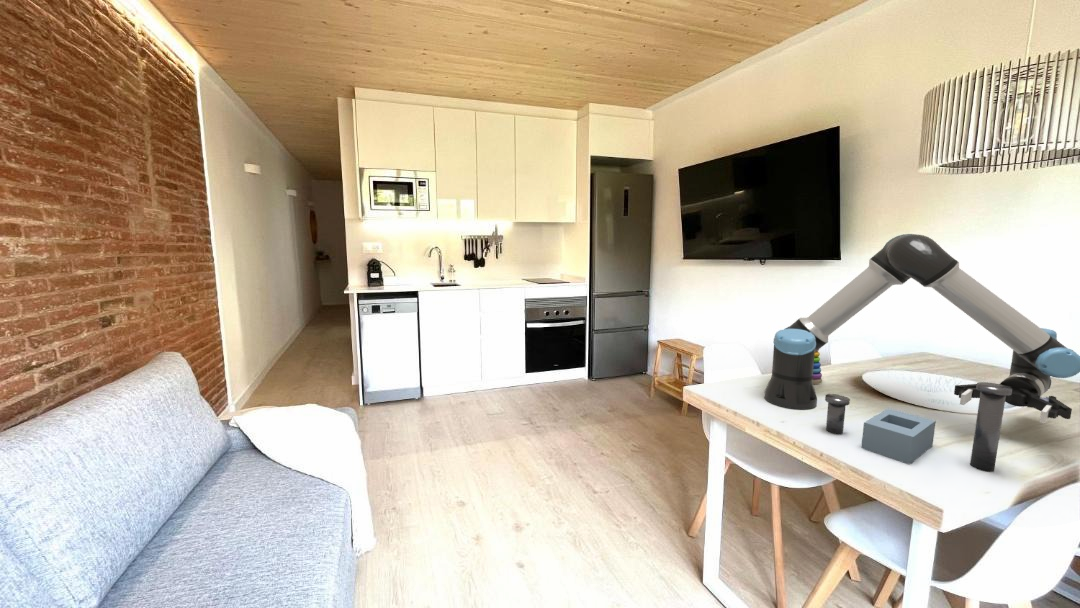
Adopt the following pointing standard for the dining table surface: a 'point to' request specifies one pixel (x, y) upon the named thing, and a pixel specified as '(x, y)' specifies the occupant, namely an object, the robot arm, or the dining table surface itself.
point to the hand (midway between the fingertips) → (1000, 408)
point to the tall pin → (988, 425)
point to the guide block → (898, 435)
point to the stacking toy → (816, 369)
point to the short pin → (836, 413)
